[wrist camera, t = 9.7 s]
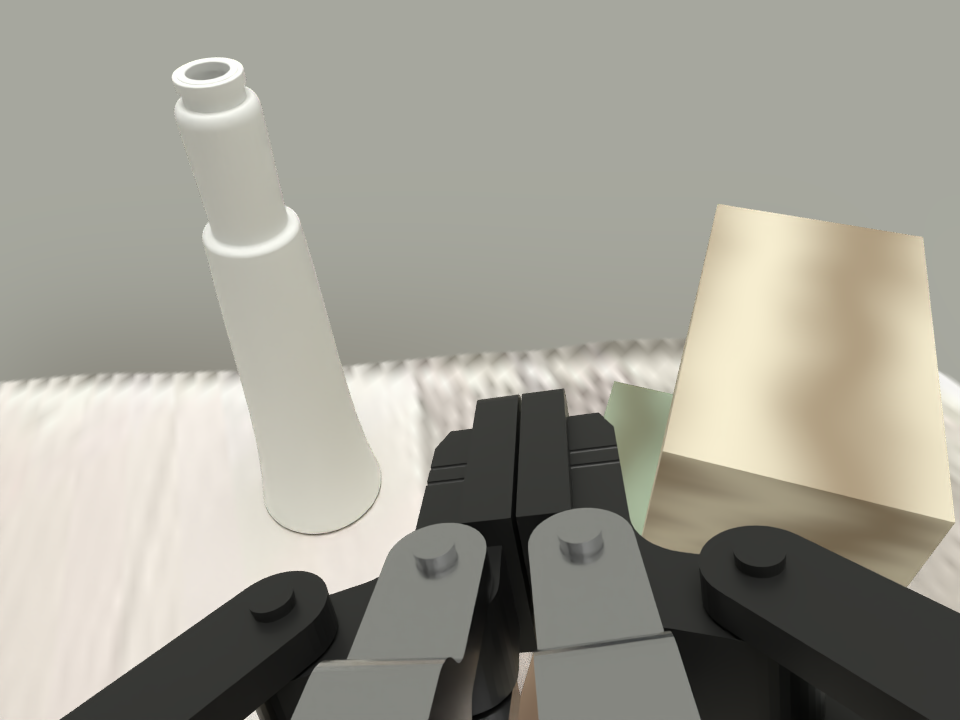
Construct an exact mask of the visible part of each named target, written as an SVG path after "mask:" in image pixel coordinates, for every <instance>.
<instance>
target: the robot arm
mask: <svg viewBox="0 0 960 720" xmlns="http://www.w3.org/2000/svg"><path fill="white" fill-rule="evenodd" d="M427 483H428V486H426V489H425V493H424V497H423V502H422V506H421V510H420V514H419V518H418V522H417V526H416V530H415V531H414V532H412V533H410V534H408V535H407V536H405V537H404V538H402V539H401V540H400V541H399V542H398V543H397V544H396V545H395V546H394V547H393V548H392V549H391V551H390V552H389V554H388V556H387V558H386V560H385V563H384V566H383V568H382V571H381V573H380V576H379V577H378V578H376V579H374V580H372V581H369V582H367V583H364V584H361V585H358V586H355V587H352V588H349V589H346V590H343V591H340V592H337V593H334V594H331V595H329V593H328V590H327V587H326V584H325V582H324V581H323V580H322V579H321V578H320V577H319V576H317V575H315V574H313V573H310V572H305V571H289V572H283V573H279V574H275V575H272V576H269V577H267V578H264V579H262V580H260V581H258V582H256V583H254V584H253V585H251V586H250V587H248V588H246V589H245V590H244V591H242V592H241V593H239V594H238V595H236V596H235V597H234V598H232V599H231V600H229V601H228V602H227V603H225V604H224V605H222V606H221V607H219V608H218V609H217V610H215V611H214V612H212V613H211V614H209V615H208V616H207V617H205V618H204V619H202V620H201V621H200V622H198V623H197V624H195V625H194V626H192V627H191V628H190V629H188V630H187V631H185V632H184V633H182V634H181V635H180V636H178V637H177V638H175V639H174V640H172V641H171V642H170V643H168V644H167V645H165V646H164V647H163V648H161V649H160V650H158V651H157V652H155V653H154V654H153V655H151V656H150V657H148V658H147V659H145V660H144V661H143V662H141V663H140V664H138V665H137V666H135V667H134V668H133V669H131V670H130V671H128V672H127V673H126V674H124V675H123V676H121V677H120V678H118V679H117V680H116V681H114V682H113V683H111V684H110V685H108V686H107V687H106V688H104V689H103V690H101V691H100V692H98V693H97V694H96V695H94V696H93V697H91V698H90V699H89V700H87V701H86V702H84V703H83V704H81V705H80V706H79V707H77V708H76V709H74V710H73V711H71V712H70V713H69V714H67V715H66V716H64V717H63V718H61V719H60V720H244V719H245V718H246V717H248V716H249V715H250V714H251V713H252V712H254V711H255V710H256V712H257V715H258V717H259V719H260V720H518V717H519V709H520V693H519V688H518V684H517V678H518V672H519V653H522V652H534V671H535V682H536V694H537V706H538V718H539V720H960V613H958V612H956V611H954V610H952V609H950V608H948V607H946V606H944V605H941V604H939V603H937V602H935V601H933V600H931V599H929V598H927V597H925V596H923V595H921V594H919V593H917V592H915V591H913V590H911V589H908V588H906V587H904V586H902V585H900V584H898V583H896V582H894V581H892V580H890V579H888V578H886V577H884V576H882V575H880V574H878V573H875V572H873V571H871V570H869V569H867V568H865V567H863V566H861V565H859V564H857V563H855V562H853V561H851V560H849V559H847V558H845V557H842V556H840V555H838V554H836V553H834V552H832V551H830V550H828V549H826V548H824V547H822V546H820V545H818V544H816V543H814V542H812V541H809V540H807V539H805V538H803V537H801V536H799V535H797V534H795V533H792V532H790V531H787V530H784V529H780V528H776V527H770V526H759V525H754V526H741V527H736V528H732V529H728V530H726V531H723V532H721V533H719V534H717V535H715V536H714V537H712V538H711V539H710V540H709V541H707V542H706V544H705V545H704V546H703V548H702V550H701V552H700V554H694V553H686V552H679V551H673V550H669V549H666V548H662V547H660V546H657V545H655V544H653V543H651V542H649V541H648V540H646V539H645V538H643V537H642V536H641V535H640V534H639V533H638V532H637V531H636V530H635V529H634V527H633V525H632V523H631V520H630V516H629V510H628V504H627V499H626V493H625V487H624V482H623V476H622V470H621V465H620V459H619V453H618V448H617V442H616V436H615V430H614V426H613V425H612V424H610V423H609V422H608V421H607V420H606V419H605V418H604V417H603V416H602V415H601V414H600V413H592V414H584V415H576V416H569V413H568V407H567V401H566V395H565V390H564V389H557V390H549V391H541V392H534V393H526V394H522V401H521V397H520V395H512V396H505V397H497V398H490V399H482V400H478V401H477V405H476V411H475V417H474V423H473V429H467V430H459V431H451V432H450V433H449V434H448V435H447V436H446V438H445V439H444V440H443V441H442V442H441V443H440V444H439V445H438V446H437V448H436V449H435V452H434V456H433V460H432V465H431V471H430V473H429V477H428V481H427Z"/></svg>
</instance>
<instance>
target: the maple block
mask: <svg viewBox="0 0 960 720" xmlns="http://www.w3.org/2000/svg"><path fill="white" fill-rule="evenodd" d="M954 523H955V517H954V508H953V499H952V491H951V482H950V473H949V464H948V455H947V446H946V437H945V428H944V420H943V411H942V402H941V393H940V384H939V375H938V366H937V357H936V349H935V340H934V331H933V322H932V314H931V305H930V295H929V287H928V278H927V269H926V261H925V251H924V242H923V237H918V236H912V235H906V234H900V233H894V232H887V231H881V230H875V229H869V228H863V227H857V226H851V225H844V224H838V223H832V222H826V221H820V220H814V219H807V218H801V217H795V216H789V215H782V214H776V213H770V212H764V211H758V210H752V209H745V208H739V207H733V206H727V205H721V204H718V205H717V209H716V213H715V217H714V222H713V226H712V230H711V235H710V239H709V244H708V248H707V252H706V256H705V260H704V265H703V269H702V273H701V278H700V282H699V286H698V291H697V295H696V299H695V303H694V308H693V312H692V316H691V320H690V325H689V329H688V334H687V338H686V342H685V346H684V350H683V355H682V359H681V363H680V368H679V372H678V376H677V381H676V385H675V389H674V393H673V398H672V402H671V407H670V411H669V416H668V420H667V424H666V429H665V433H664V438H663V442H662V447H661V451H660V456H659V460H658V465H657V469H656V473H655V478H654V482H653V487H652V491H651V496H650V500H649V505H648V509H647V513H646V518H645V522H644V527H643V531H642V537H643V538H645V539H646V540H648V541H649V542H651V543H653V544H655V545H657V546H660V547H662V548H666V549H669V550H673V551H679V552H686V553H694V554H700V552H701V550H702V548H703V546H704V545H705V544H706V542H707V541H709V540H710V539H711V538H712V537H714V536H715V535H717V534H719V533H721V532H723V531H726V530H728V529H732V528H736V527H741V526H754V525H759V526H770V527H776V528H780V529H784V530H787V531H790V532H792V533H795V534H797V535H799V536H801V537H803V538H805V539H807V540H809V541H812V542H814V543H816V544H818V545H820V546H822V547H824V548H826V549H828V550H830V551H832V552H834V553H836V554H838V555H840V556H842V557H845V558H847V559H849V560H851V561H853V562H855V563H857V564H859V565H861V566H863V567H865V568H867V569H869V570H871V571H873V572H875V573H878V574H880V575H882V576H884V577H886V578H888V579H890V580H892V581H894V582H896V583H898V584H900V585H902V586H904V587H906V588H907V586H908V585H909V584H910V582H911V581H912V580H913V578H914V577H915V576H916V574H917V573H918V572H919V570H920V569H921V568H922V566H923V565H924V564H925V562H926V561H927V560H928V558H929V557H930V556H931V554H932V553H933V551H934V550H935V549H936V547H937V546H938V545H939V543H940V542H941V541H942V539H943V538H944V537H945V535H946V534H947V533H948V531H949V530H950V529H951V527H952V526H953V525H954Z"/></svg>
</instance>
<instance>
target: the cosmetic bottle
mask: <svg viewBox="0 0 960 720" xmlns="http://www.w3.org/2000/svg"><path fill="white" fill-rule="evenodd" d="M172 81H173V84H174V87H175V91H176V93H177V94H178V95H180V96H181V98H180V99H179V100H178V101H177V103H176V106H175V120H176V123H177V126H178V129H179V132H180V136H181V139H182V142H183V145H184V148H185V151H186V154H187V156H188V160H189V163H190V166H191V169H192V172H193V175H194V178H195V181H196V185H197V188H198V190H199V194H200V197H201V200H202V203H203V206H204V209H205V212H206V215H207V218H208V221H209V222H208V223H207V224H206V226H205V228H204V230H203V234H202V240H203V244H204V248H205V252H206V256H207V260H208V264H209V268H210V272H211V276H212V280H213V283H214V287H215V291H216V295H217V298H218V302H219V305H220V309H221V313H222V316H223V320H224V323H225V327H226V331H227V334H228V337H229V341H230V344H231V348H232V352H233V355H234V359H235V362H236V365H237V369H238V373H239V376H240V380H241V383H242V387H243V391H244V394H245V398H246V402H247V405H248V409H249V413H250V417H251V421H252V425H253V429H254V434H255V439H256V443H257V449H258V454H259V460H260V466H261V473H262V483H263V498H264V502H265V506H266V508H267V510H268V512H269V513H270V515H271V516H272V517H273V518H274V520H276V521H277V522H278V523H279V524H281V525H282V526H284V527H286V528H288V529H290V530H293V531H296V532H300V533H306V534H320V533H327V532H331V531H335V530H338V529H341V528H343V527H345V526H347V525H349V524H351V523H353V522H354V521H356V520H357V519H358V518H360V517H361V516H362V515H363V514H364V513H365V512H366V511H367V510H368V509H369V508H370V507H371V505H372V504H373V502H374V501H375V499H376V497H377V495H378V492H379V489H380V485H381V471H380V467H379V464H378V461H377V459H376V458H375V456H374V454H373V452H372V450H371V448H370V446H369V443H368V441H367V439H366V437H365V434H364V432H363V430H362V427H361V424H360V422H359V419H358V416H357V414H356V411H355V408H354V405H353V402H352V399H351V395H350V392H349V389H348V386H347V383H346V379H345V376H344V372H343V369H342V365H341V362H340V358H339V355H338V351H337V348H336V344H335V340H334V337H333V333H332V330H331V326H330V322H329V319H328V315H327V311H326V307H325V304H324V300H323V297H322V293H321V290H320V286H319V282H318V279H317V276H316V272H315V268H314V265H313V262H312V258H311V255H310V252H309V249H308V245H307V242H306V238H305V235H304V232H303V228H302V225H301V222H300V219H299V217H298V215H297V214H296V213H295V211H293V210H292V209H291V208H289V207H287V206H285V203H284V200H283V195H282V191H281V187H280V182H279V178H278V174H277V170H276V165H275V161H274V157H273V152H272V148H271V144H270V140H269V135H268V131H267V127H266V123H265V118H264V114H263V110H262V106H261V103H260V100H259V98H258V96H257V95H256V93H255V92H254V91H252V90H251V89H250V88H248V87H246V86H244V85H245V83H246V76H245V72H244V69H243V66H242V64H241V63H239V62H238V61H236V60H233V59H229V58H205V59H200V60H196V61H192V62H189V63H187V64H185V65H182V66H181V67H179V68H178V69H176V70H175V71H174V73H173V75H172Z"/></svg>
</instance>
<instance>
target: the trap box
mask: <svg viewBox="0 0 960 720" xmlns="http://www.w3.org/2000/svg"><path fill="white" fill-rule="evenodd" d="M672 398H673V394H669V393H665V392H660V391H656V390H651V389H647V388H642V387H638V386H633V385H629V384H624V383H620V382H615V381H614V384H613V388H612V391H611V394H610V398H609V401H608V404H607V408H606V411H605V415H604V418H605V419H606V420H607V421H608V422H609V423H610V424H612V425H613V426H614V430H615V436H616V442H617V448H618V453H619V459H620V465H621V470H622V476H623V482H624V487H625V493H626V499H627V504H628V510H629V516H630V520H631V523H632V525H633V527H634V529H635V530H636V531H637V532H638V533H639V534H640V535H641V536H642V531H643V527H644V522H645V518H646V513H647V509H648V505H649V500H650V496H651V491H652V487H653V482H654V478H655V473H656V469H657V465H658V460H659V456H660V451H661V447H662V442H663V438H664V433H665V429H666V424H667V420H668V416H669V411H670V407H671V402H672ZM518 720H539V718H538V706H537V694H536V682H535V671H534V652H533V656H532V659H531V662H530V666H529V669H528V672H527V676H526V679H525V682H524V686H523V689H522V692H521V696H520V709H519V717H518Z"/></svg>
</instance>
